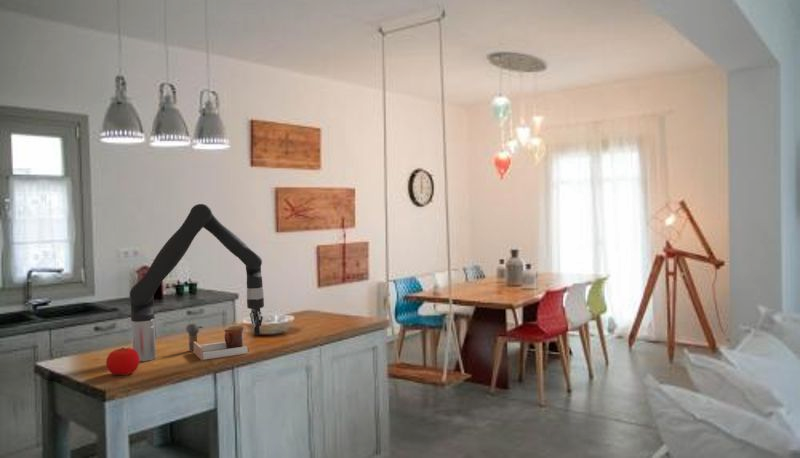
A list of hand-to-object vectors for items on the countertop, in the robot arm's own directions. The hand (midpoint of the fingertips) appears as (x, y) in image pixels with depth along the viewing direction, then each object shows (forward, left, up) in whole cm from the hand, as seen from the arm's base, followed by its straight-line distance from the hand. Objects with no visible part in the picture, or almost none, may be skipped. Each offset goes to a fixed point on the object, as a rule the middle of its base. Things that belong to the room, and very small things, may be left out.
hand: (256, 334), depth 273 cm
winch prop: (-25, +12, -6) cm, 28 cm away
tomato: (-57, -12, -6) cm, 59 cm away
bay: (-16, 0, -6) cm, 17 cm away
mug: (-11, 0, -6) cm, 13 cm away
